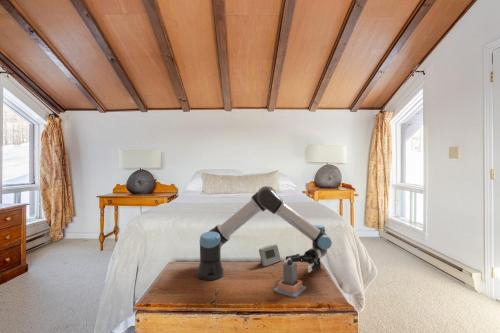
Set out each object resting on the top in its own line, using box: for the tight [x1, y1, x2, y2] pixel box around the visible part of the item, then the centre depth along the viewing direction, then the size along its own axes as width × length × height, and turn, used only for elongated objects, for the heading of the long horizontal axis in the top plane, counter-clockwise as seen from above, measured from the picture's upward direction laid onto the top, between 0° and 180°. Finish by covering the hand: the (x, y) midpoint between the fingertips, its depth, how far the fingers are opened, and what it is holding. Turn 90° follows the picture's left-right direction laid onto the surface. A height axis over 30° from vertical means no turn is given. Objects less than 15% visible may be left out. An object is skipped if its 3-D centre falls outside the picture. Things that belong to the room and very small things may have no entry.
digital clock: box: [258, 243, 282, 267], centre depth 176 cm, size 16×9×11 cm, turn 121°
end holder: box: [273, 279, 307, 299], centre depth 138 cm, size 12×12×4 cm
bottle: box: [282, 259, 298, 286], centre depth 138 cm, size 5×5×14 cm
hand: (296, 266), depth 143 cm, fingers open, 13 cm apart
